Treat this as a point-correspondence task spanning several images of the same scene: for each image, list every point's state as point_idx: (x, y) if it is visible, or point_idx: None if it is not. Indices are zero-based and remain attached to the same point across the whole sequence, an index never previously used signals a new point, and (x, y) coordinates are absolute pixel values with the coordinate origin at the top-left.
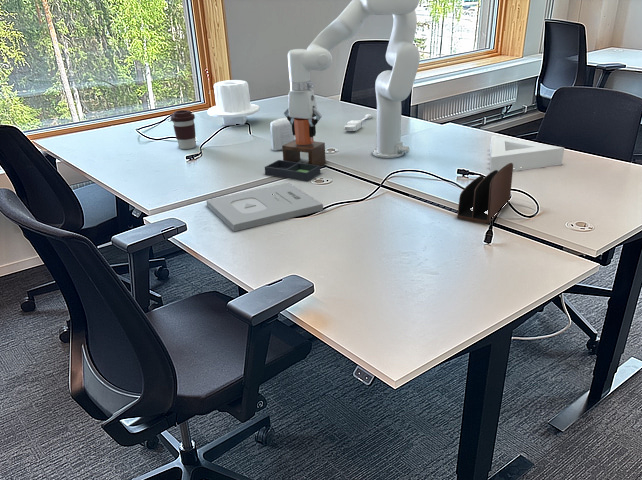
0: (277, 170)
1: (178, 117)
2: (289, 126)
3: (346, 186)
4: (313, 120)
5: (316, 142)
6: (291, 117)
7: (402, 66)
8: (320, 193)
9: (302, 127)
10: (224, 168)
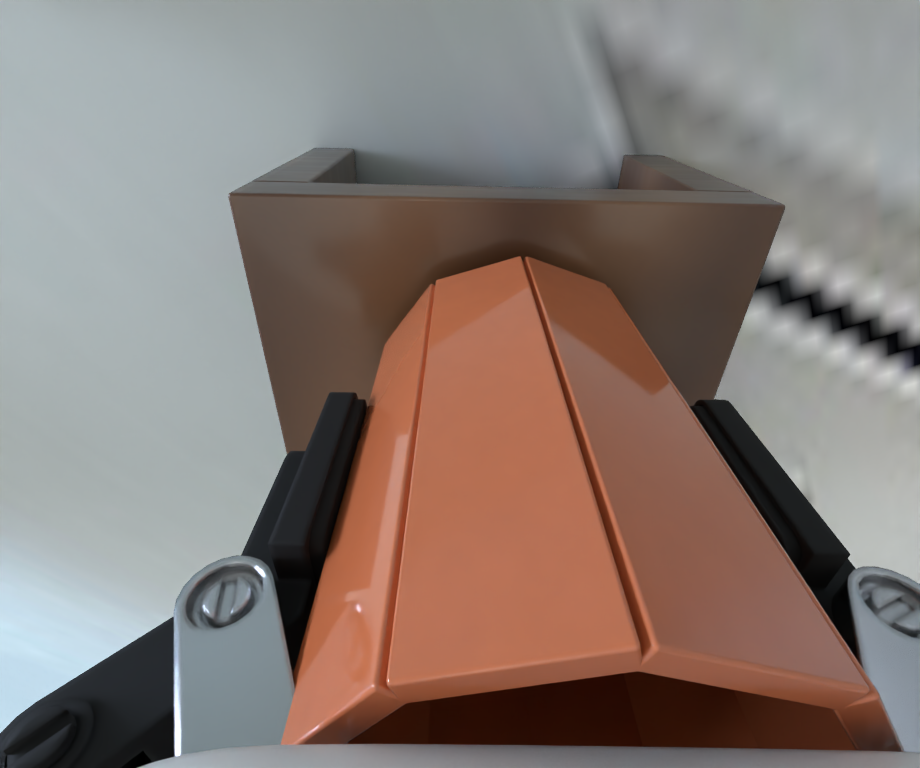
0: None
1: None
2: None
3: (905, 527)
4: (914, 712)
5: (648, 252)
6: (103, 762)
7: None
8: None
9: (603, 698)
10: (36, 535)
